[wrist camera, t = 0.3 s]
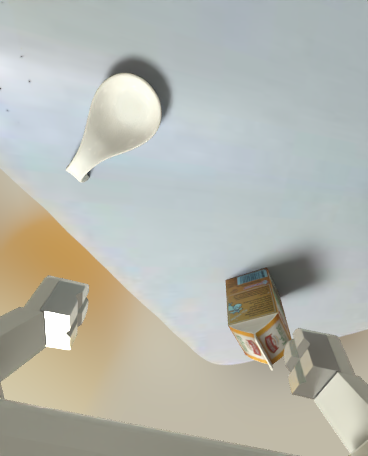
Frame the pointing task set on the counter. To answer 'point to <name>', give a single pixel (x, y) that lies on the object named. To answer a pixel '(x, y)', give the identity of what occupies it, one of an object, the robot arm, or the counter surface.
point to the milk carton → (257, 316)
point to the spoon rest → (117, 122)
